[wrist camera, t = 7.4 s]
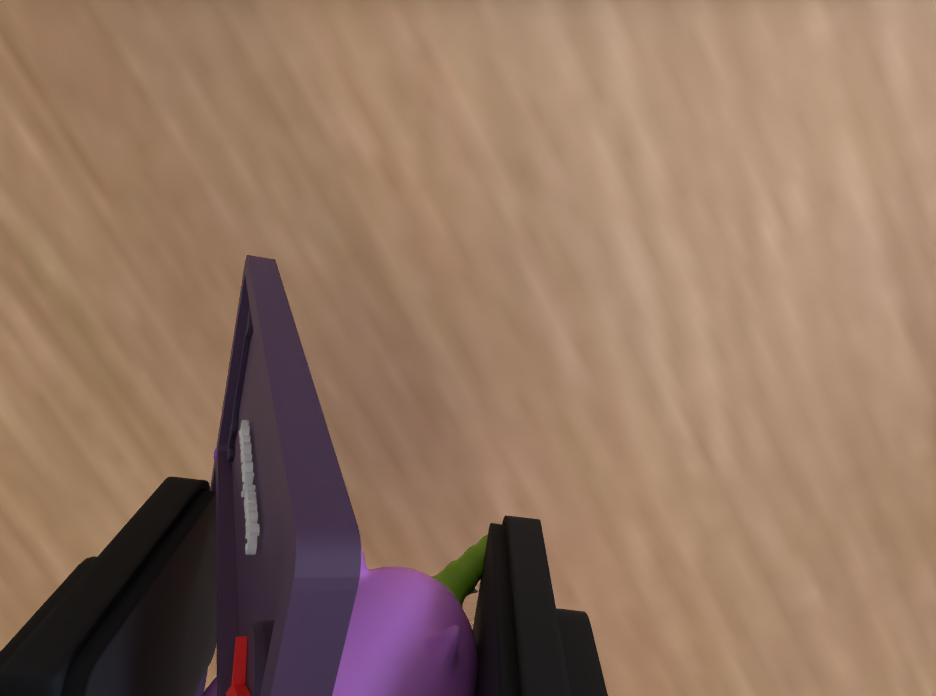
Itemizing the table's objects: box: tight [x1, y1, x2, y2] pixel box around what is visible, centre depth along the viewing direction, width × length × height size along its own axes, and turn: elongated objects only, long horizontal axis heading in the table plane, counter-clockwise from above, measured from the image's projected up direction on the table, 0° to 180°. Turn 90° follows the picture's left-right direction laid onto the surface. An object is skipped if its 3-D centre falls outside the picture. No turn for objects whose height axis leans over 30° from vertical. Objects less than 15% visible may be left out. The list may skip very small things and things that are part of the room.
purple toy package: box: [194, 255, 488, 696], centre depth 9 cm, size 7×5×9 cm
